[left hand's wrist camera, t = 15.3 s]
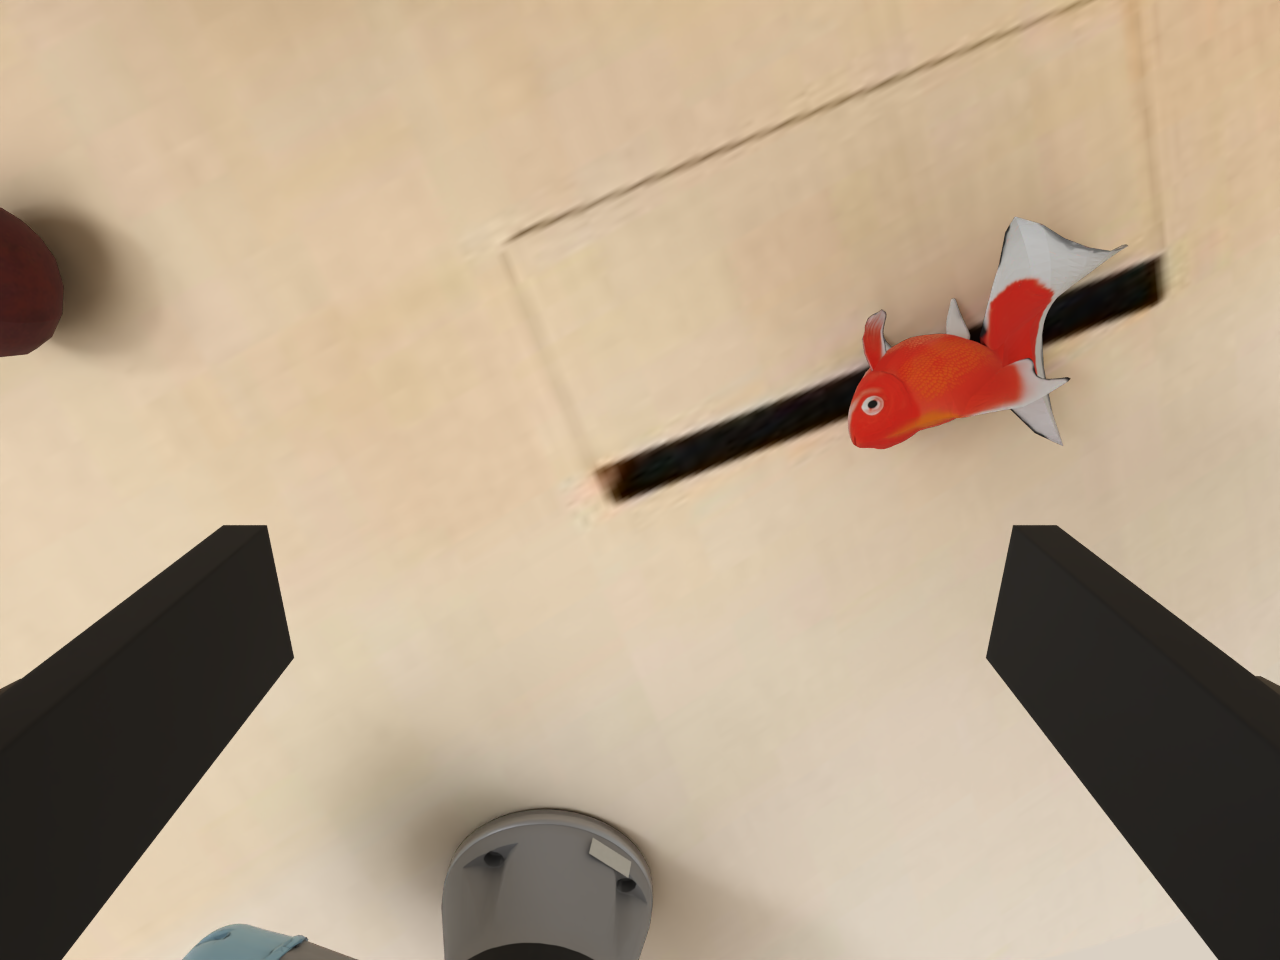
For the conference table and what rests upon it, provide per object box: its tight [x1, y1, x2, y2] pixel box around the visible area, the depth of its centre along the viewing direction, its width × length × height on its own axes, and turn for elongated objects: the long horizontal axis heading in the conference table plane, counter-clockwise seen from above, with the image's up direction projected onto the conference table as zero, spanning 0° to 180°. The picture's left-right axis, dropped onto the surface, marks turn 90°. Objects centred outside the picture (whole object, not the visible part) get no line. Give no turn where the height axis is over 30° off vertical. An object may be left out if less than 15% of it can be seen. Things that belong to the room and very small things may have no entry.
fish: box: [848, 217, 1128, 449], centre depth 35 cm, size 11×16×10 cm
